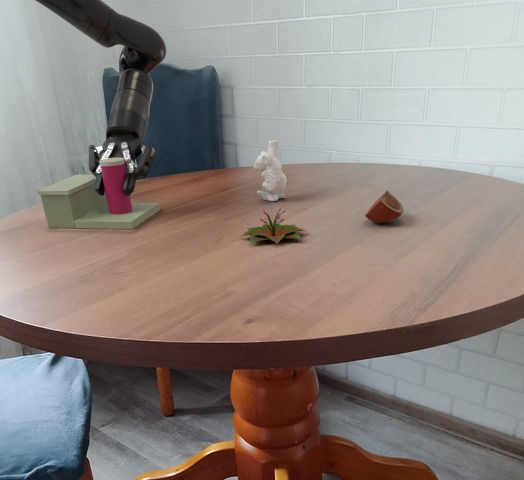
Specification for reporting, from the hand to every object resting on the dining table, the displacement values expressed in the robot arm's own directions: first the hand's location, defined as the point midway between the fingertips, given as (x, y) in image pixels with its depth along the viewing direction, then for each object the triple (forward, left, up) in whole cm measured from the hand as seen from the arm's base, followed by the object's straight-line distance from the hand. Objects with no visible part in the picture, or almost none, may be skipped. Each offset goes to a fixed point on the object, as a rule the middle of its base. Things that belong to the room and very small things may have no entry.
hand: (113, 193), depth 105 cm
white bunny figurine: (+30, -15, -6) cm, 34 cm away
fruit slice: (+28, -44, -6) cm, 52 cm away
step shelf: (0, +4, -6) cm, 7 cm away
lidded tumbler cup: (+2, +1, -4) cm, 4 cm away
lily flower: (+10, -33, -6) cm, 35 cm away
